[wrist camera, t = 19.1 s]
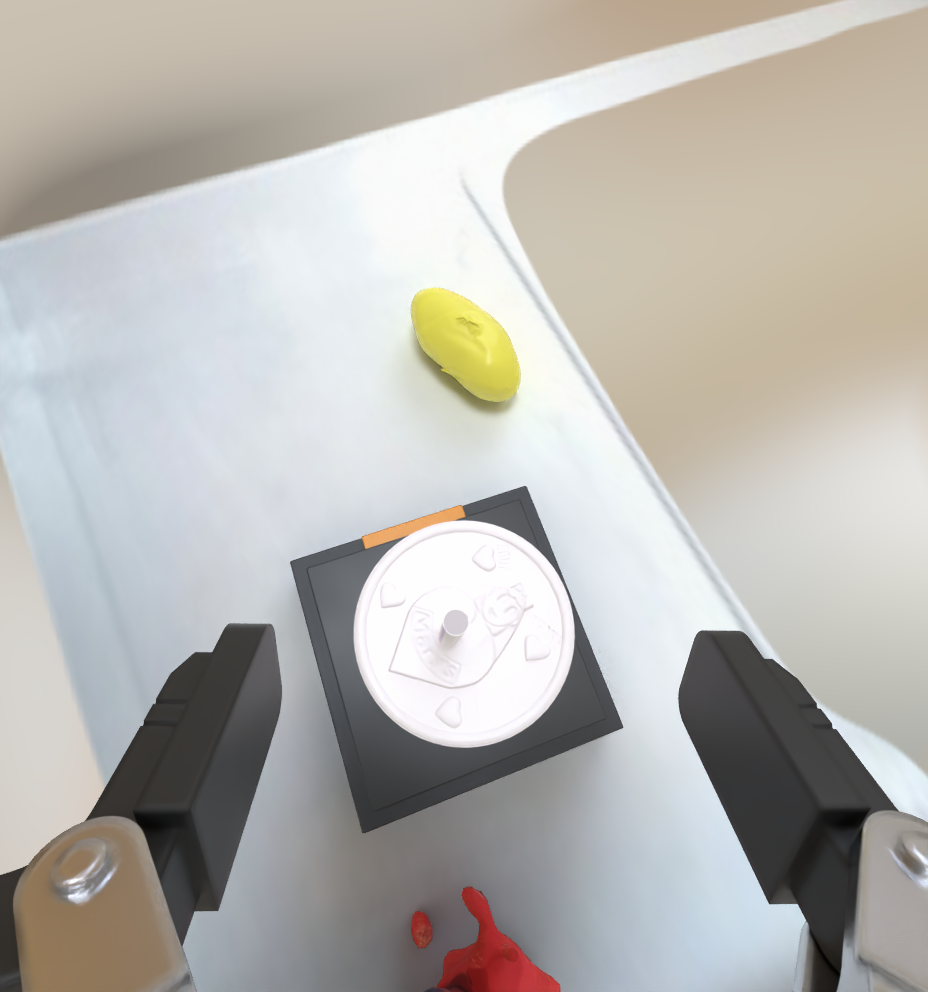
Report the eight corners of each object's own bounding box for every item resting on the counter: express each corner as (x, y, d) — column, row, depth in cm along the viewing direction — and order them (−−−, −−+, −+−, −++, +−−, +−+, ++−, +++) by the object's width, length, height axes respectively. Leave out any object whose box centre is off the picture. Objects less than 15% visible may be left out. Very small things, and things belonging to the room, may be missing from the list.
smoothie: (354, 615, 25) (273, 546, 12) (479, 549, 26) (532, 420, 13) (420, 752, 24) (412, 848, 10) (549, 675, 25) (690, 672, 12)
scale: (368, 819, 25) (360, 838, 23) (300, 570, 29) (286, 558, 26) (607, 723, 27) (628, 729, 24) (518, 499, 31) (528, 481, 28)
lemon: (477, 430, 32) (484, 397, 28) (394, 329, 33) (390, 286, 30) (534, 391, 33) (548, 355, 29) (451, 295, 34) (454, 249, 31)
